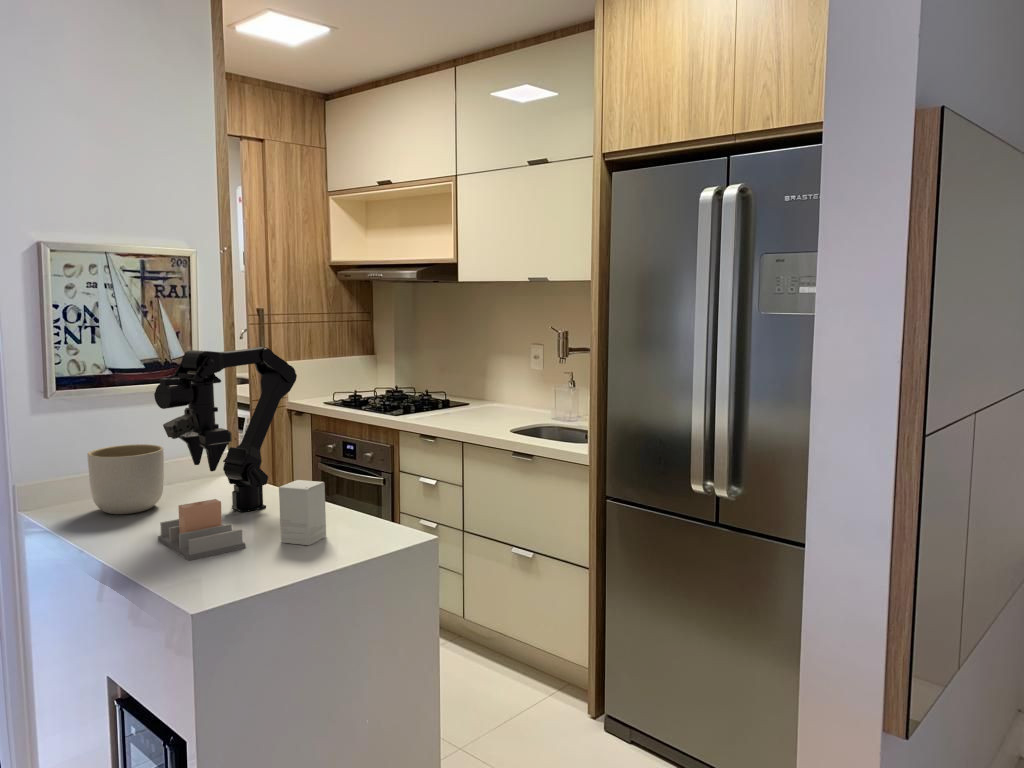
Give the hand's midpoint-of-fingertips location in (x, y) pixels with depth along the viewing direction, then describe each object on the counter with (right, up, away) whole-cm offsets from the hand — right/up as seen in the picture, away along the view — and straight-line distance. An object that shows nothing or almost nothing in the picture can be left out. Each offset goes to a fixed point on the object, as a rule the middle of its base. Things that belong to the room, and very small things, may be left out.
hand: (204, 467), depth 181 cm
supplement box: (+27, -15, -13) cm, 34 cm away
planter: (-24, -12, +11) cm, 28 cm away
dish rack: (+6, -15, -16) cm, 23 cm away
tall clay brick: (+6, -14, -16) cm, 22 cm away
